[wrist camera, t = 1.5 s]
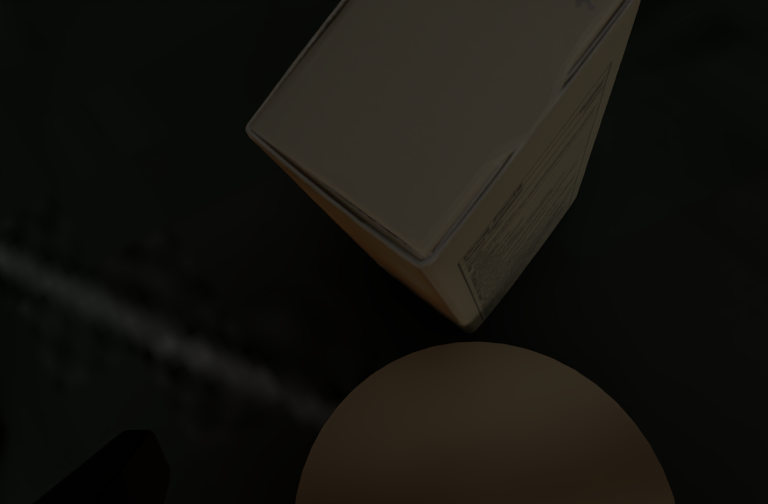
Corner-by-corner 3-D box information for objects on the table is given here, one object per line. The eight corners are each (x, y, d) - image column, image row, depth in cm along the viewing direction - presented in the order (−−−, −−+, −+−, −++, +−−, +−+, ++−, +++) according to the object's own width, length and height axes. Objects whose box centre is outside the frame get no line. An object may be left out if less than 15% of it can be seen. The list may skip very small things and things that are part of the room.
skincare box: (478, 130, 23) (453, -149, 12) (581, 197, 22) (668, -42, 10) (368, 270, 23) (227, 125, 11) (467, 346, 22) (424, 272, 10)
